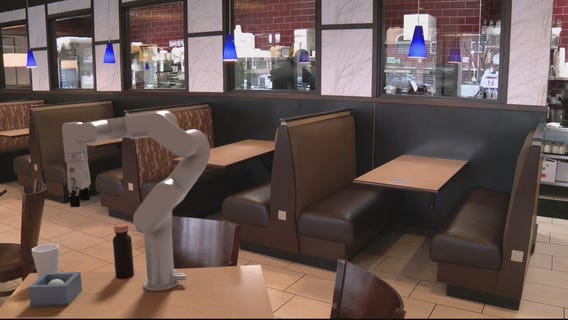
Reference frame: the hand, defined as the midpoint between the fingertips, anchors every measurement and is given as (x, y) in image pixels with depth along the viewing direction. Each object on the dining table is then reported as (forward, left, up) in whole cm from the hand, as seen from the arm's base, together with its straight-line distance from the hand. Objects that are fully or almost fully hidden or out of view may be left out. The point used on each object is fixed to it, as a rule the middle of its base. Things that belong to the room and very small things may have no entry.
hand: (80, 203), depth 186 cm
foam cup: (+16, -4, -31) cm, 35 cm away
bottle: (-12, -6, -31) cm, 33 cm away
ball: (+6, +13, -26) cm, 30 cm away
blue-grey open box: (+6, +13, -30) cm, 34 cm away
